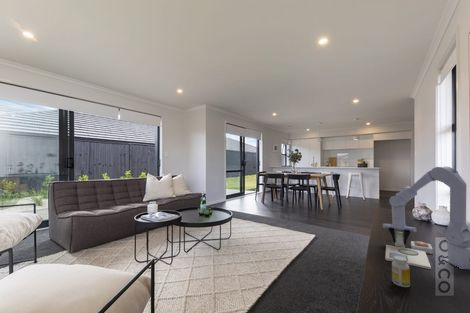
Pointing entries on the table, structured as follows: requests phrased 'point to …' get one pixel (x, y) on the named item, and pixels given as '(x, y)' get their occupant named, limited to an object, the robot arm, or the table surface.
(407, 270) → the supplement bottle
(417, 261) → the picture board
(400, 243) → the marker
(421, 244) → the button
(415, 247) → the button box
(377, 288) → the table surface
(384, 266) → the table surface
